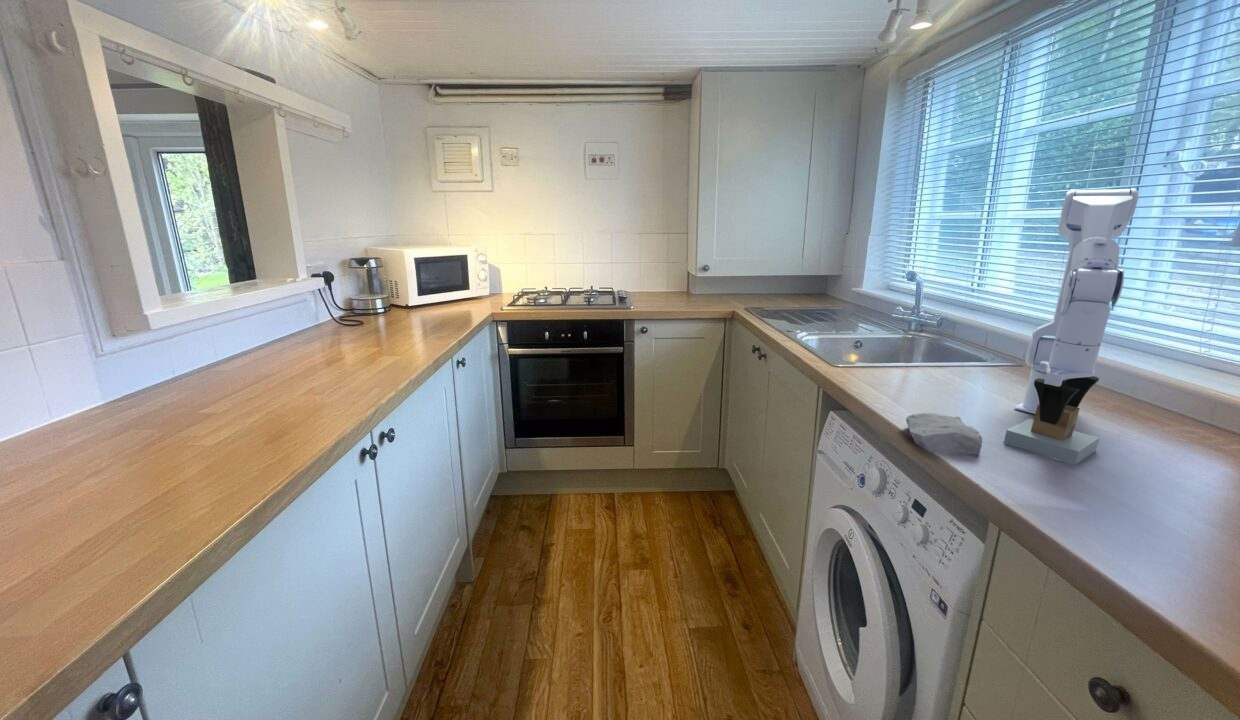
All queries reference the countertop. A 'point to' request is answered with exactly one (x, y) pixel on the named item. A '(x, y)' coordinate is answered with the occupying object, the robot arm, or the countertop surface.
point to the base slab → (1052, 443)
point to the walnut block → (1061, 428)
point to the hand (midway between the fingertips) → (1056, 418)
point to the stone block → (944, 434)
